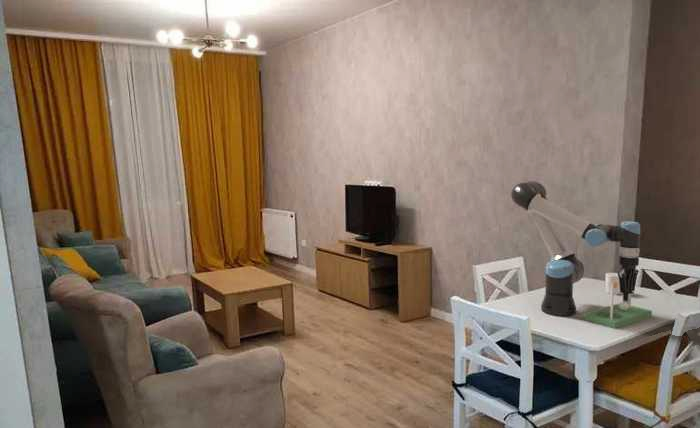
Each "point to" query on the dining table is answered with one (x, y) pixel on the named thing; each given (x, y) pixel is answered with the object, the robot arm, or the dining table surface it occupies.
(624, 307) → the ball
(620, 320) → the mat
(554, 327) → the dining table surface
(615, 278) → the white cup
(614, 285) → the flag pin
